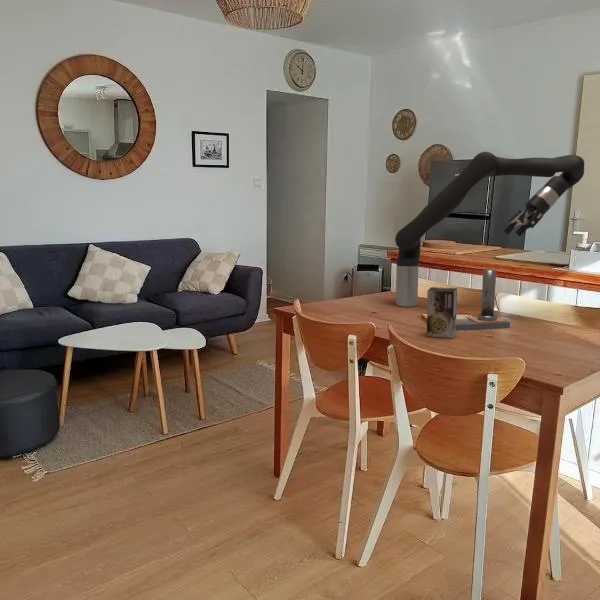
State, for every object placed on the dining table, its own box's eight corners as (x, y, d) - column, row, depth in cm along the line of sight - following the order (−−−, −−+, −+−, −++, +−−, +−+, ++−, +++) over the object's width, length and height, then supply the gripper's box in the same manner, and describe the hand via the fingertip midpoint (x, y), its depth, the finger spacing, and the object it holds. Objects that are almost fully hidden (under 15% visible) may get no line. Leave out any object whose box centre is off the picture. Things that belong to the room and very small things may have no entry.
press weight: (474, 317, 214) (476, 269, 211) (491, 316, 215) (493, 268, 212) (482, 321, 207) (485, 271, 204) (500, 320, 208) (503, 271, 205)
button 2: (467, 322, 215) (468, 317, 214) (494, 321, 216) (494, 316, 216) (477, 327, 207) (477, 322, 206) (505, 326, 208) (505, 320, 208)
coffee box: (456, 334, 200) (458, 288, 196) (452, 338, 194) (454, 291, 191) (429, 331, 203) (431, 286, 200) (425, 336, 198) (427, 289, 195)
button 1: (448, 321, 212) (448, 316, 211) (461, 321, 212) (461, 315, 212) (454, 324, 207) (454, 319, 206) (467, 324, 208) (467, 318, 207)
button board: (440, 324, 214) (440, 319, 214) (496, 321, 217) (496, 316, 217) (451, 330, 204) (451, 325, 204) (509, 327, 208) (510, 322, 207)
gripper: (525, 194, 218) (495, 225, 219) (547, 194, 205) (515, 227, 205) (537, 208, 220) (507, 239, 221) (559, 209, 206) (528, 242, 207)
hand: (511, 233), depth 213 cm, fingers open, 8 cm apart
